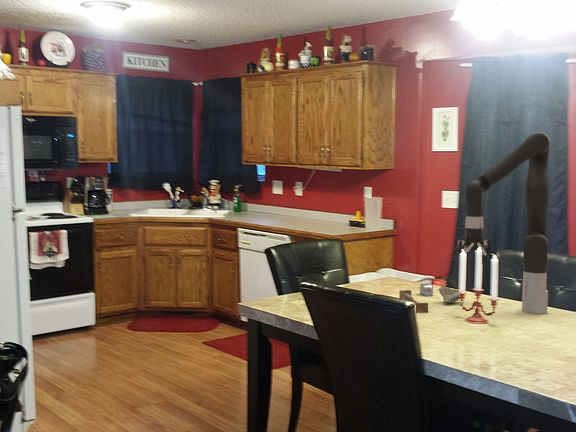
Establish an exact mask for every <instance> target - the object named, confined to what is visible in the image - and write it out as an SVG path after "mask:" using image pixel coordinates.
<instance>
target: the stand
mask: <svg viewBox="0 0 576 432" xmlns="http://www.w3.org/2000/svg"><path fill="white" fill-rule="evenodd" d="M398 292H399V298H400V299H404V300H408V301H411V302H414V303H415V305H416V312H415V313H417V314H418V313H419V314H420V313H421V314H425V313H426V314H427V313H429V303H428V302H418V301H416V300H415V299H414V298H413V296H412V290H410V289H405V290H401V289H400V290H399V291H398ZM400 299H399V300H400Z"/></svg>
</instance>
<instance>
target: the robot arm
mask: <svg viewBox="0 0 576 432" xmlns="http://www.w3.org/2000/svg"><path fill="white" fill-rule="evenodd" d="M550 147H551V139H550V137H549V136H548V134H546V133H545V132H542V131H534V132H532V133H530V134H529V135H528V136H527V138H525V139H524V141H522V143H520V145H519V146H517V148H515V149H514V150H513V151H511V152H510V153H509V154H507V155H506V156H504V157H503V158H502V159H500V160H498V161H497V162H496V163H495V164H493V165H491V166H490V167H489V168H488V169H486V170H485V171H484V172H483V174H481V175H480V176H479V177H476V178H475V179H474V180H471V181H469V182H468V183H467V184H466V186H465V203H466V211H465V213H466V214H465V221H464V222H465V223H464V225H465V227H464V240H460V239H458V240H457V244H456V254H458V255H460V253H461V252H462V251H463V250H464V251H465V253H466V254H467V253H468V252H469V251H478V250H477V248H478V247H479V246H480V247H481V249H482V253H481V257H482V263H481V264H482V265H485V264H486V262H487V255H490V254H491V253H492V252H491V251H492V250H491V240H490V239H485V240H484V205H483V202H482V201H483V199H482V198H483V194H484V193H486V192H487V191H488V190H489V189H490V188H492V187H493V186H495V185H497V184H498V183H499V182H501V181H502V180H504V178H506V177H507V176H509V175H510V174H511V173H512V172H514V170H516V169H517V168H518V167H519V166H521V165H522V164H524V163H525V162H526V161H528V170H527V176H526V181H525V182H526V183H525V192H524V193H525V195H524V197H525V198H524V199H525V201H524V202H525V211H526V216H527V227H526V235H525V240H524V242H523V258H522V259H523V260H522V263H523V264H522V265H523V269H522V270H523V271H522V273H523V274H522V276H523V277H522V296H521V297H522V298H521V299H522V301H521V302H522V303H521V311H522V313H525V314H529V315H544V314H548V307H549V306H548V303H549V302H548V301H549V300H548V299H549V291H548V290H547V277H548V276H547V274H548V272H547V271H548V248H549V242H548V235H547V217H548V210H549V205H550V179H549V168H548V164H549V154H550ZM464 245H465V246H464ZM483 245H485V249H484V247H483ZM463 246H464V248H463ZM462 249H463V250H462Z"/></svg>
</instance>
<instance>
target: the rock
mask: <svg viewBox="0 0 576 432" xmlns="http://www.w3.org/2000/svg"><path fill="white" fill-rule="evenodd" d="M459 290H460V289H453V288H450V287H447V286H444V285H442V284H441V285H440V287H438V290H437V291H439V293H440V295H441V297H442V299H443V302H444V303H449V304H450V303H455V302H457V301H459V300H461V299H460V297H459Z"/></svg>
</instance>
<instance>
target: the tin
mask: <svg viewBox="0 0 576 432" xmlns="http://www.w3.org/2000/svg"><path fill="white" fill-rule="evenodd" d="M420 295H421V296H420ZM419 296H420V297H426V298H427V297H430V298H431V297H433V296H434V284H432V283H420V284H419Z"/></svg>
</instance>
